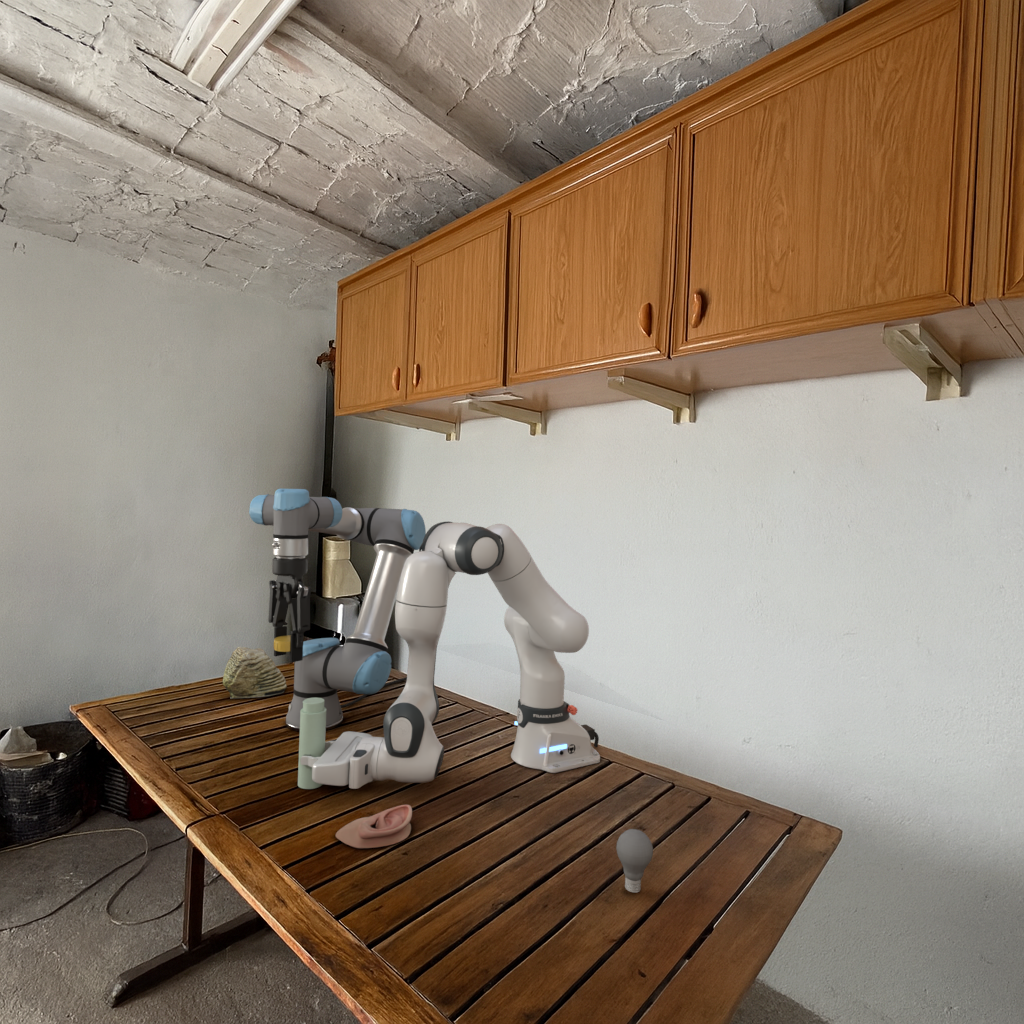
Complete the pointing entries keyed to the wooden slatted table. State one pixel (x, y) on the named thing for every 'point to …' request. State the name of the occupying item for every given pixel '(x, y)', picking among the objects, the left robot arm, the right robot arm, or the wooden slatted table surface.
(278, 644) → the lid
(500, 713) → the wooden slatted table surface
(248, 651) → the fossil
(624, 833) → the light bulb
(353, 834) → the anatomical model
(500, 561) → the right robot arm
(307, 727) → the pale green bottle
